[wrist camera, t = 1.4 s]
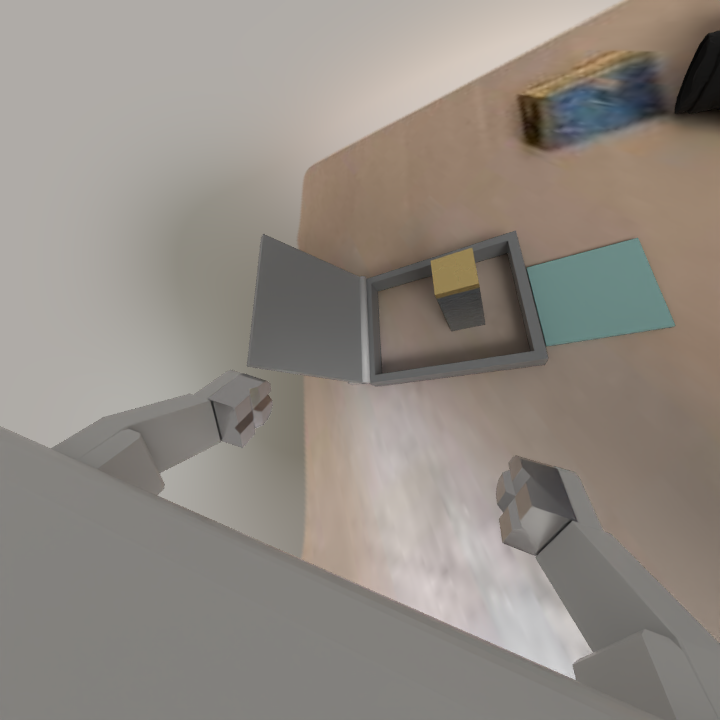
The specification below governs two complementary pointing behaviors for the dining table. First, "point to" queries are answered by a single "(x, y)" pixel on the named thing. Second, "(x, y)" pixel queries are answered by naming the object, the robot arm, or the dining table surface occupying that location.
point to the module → (458, 289)
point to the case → (358, 317)
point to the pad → (598, 295)
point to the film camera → (702, 78)
